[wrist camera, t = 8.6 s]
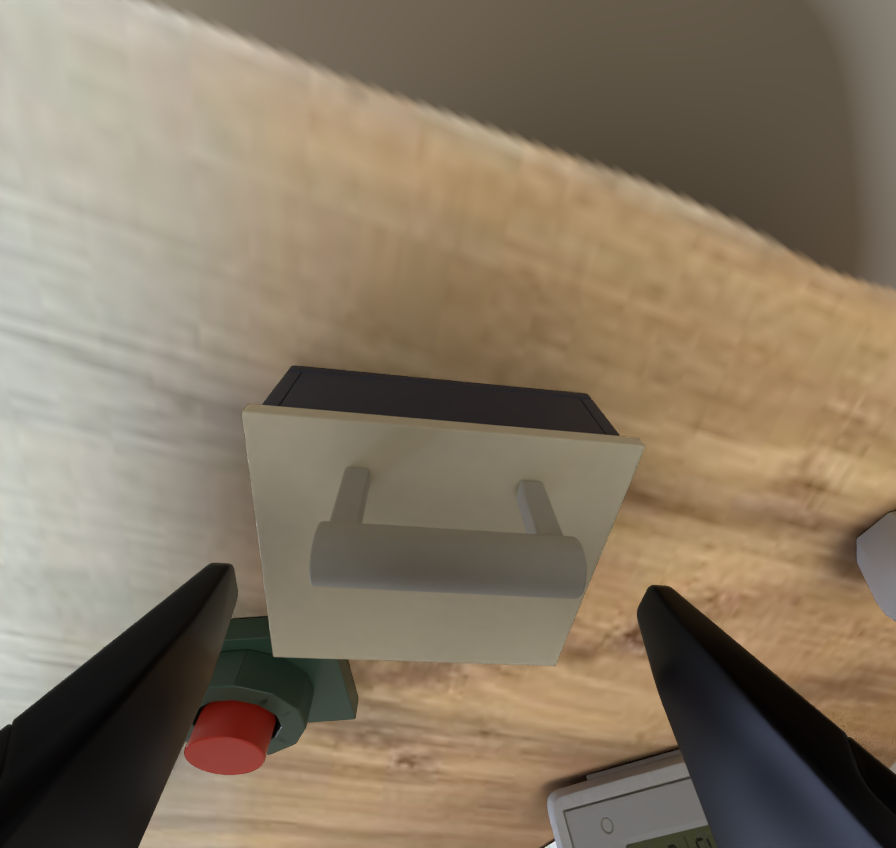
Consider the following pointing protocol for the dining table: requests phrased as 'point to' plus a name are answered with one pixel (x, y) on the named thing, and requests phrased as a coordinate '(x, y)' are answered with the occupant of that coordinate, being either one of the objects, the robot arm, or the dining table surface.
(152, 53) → the dining table surface
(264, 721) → the alarm button
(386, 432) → the beige panel
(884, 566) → the salt shaker
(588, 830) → the digital clock
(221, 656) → the alarm box
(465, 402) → the dark rimmed tray
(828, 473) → the dining table surface
